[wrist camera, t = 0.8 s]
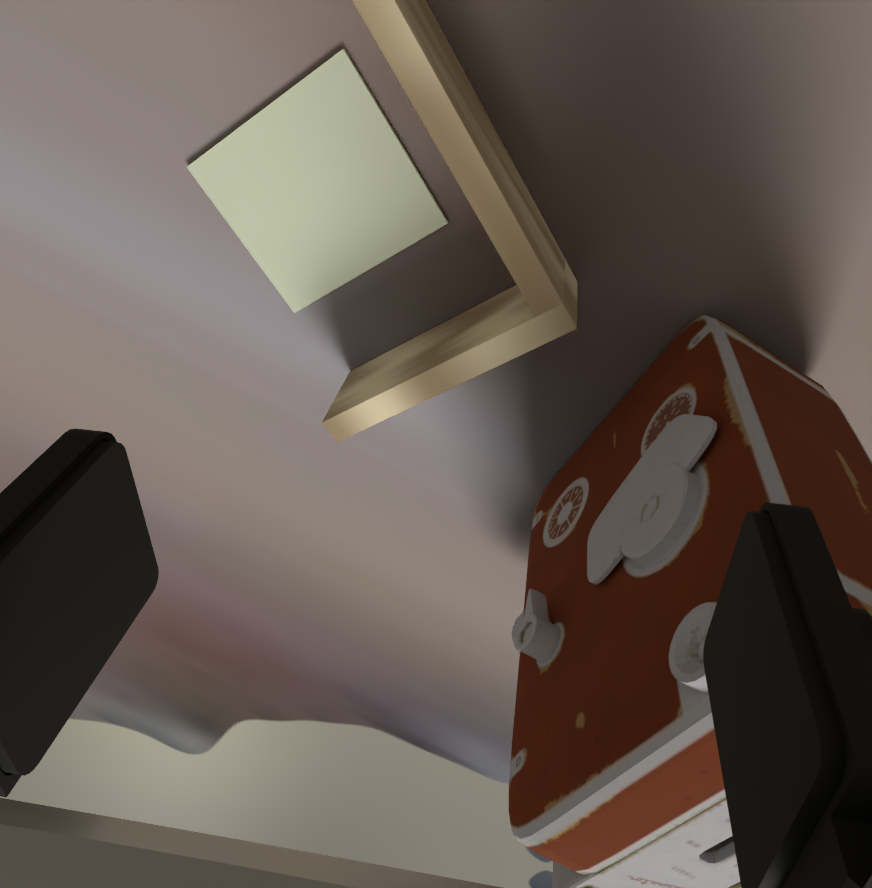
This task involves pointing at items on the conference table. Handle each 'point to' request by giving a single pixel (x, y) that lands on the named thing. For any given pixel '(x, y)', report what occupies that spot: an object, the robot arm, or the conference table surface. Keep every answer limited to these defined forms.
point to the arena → (501, 214)
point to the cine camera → (662, 605)
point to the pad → (319, 185)
